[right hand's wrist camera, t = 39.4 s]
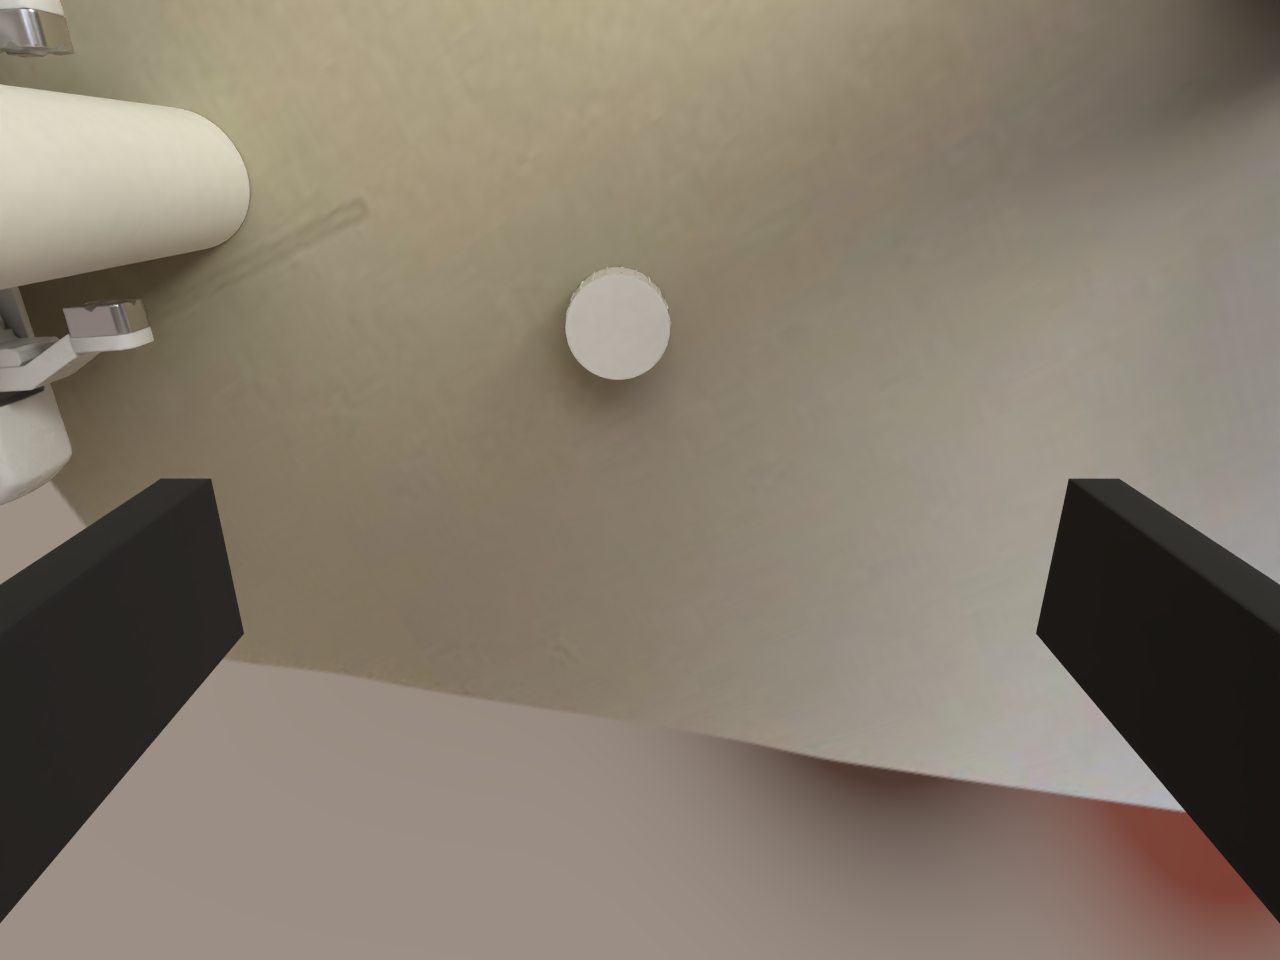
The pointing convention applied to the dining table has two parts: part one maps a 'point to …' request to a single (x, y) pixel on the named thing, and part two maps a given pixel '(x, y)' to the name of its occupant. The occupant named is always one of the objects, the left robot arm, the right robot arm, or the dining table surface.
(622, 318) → the cap
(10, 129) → the bottle
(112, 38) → the dining table surface
